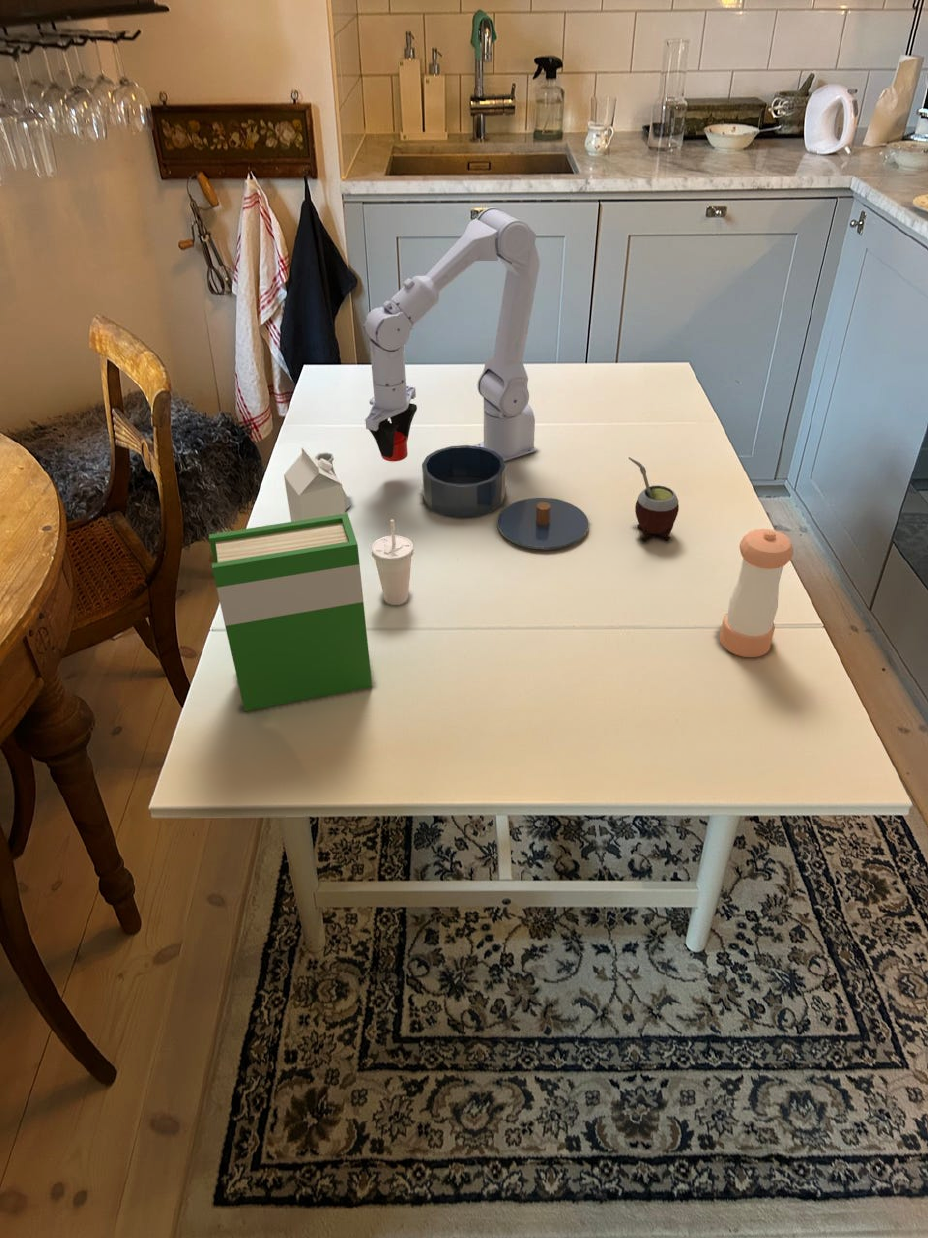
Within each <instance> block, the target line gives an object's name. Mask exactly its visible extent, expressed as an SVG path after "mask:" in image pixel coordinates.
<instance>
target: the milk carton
mask: <svg viewBox="0 0 928 1238" xmlns="http://www.w3.org/2000/svg"><path fill="white" fill-rule="evenodd" d="M331 468H332V464H331V463H329V462H328V461H327V460H325V459H322V458H321V459H320V460H317V459H315V457H312V456H311V455H310V453H309V452H308V451H307V450H306V449H305V448H304V447H303V446H301V454H300V455H299V456H298V458H296V459H295V461H294V462H293V463H292V464H291V465H290V467H289V468H288V469H287V470H286V471H285V472H284V474H283V478H284V484H285V491H286V498H287V504H288V511H289V517H290V522H294V521H300V520H307V519H313V518H320V517H326V516H333V515H339V514H346V510H345V505H344V496H343V489H344V487H343V484H342V482H341V481H340V479H339V478H338V476H337V475H336V476H337V477H336V476H335V475H334V474H333V472H332V471H331V470H330V469H331Z"/></svg>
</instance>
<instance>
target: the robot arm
mask: <svg viewBox="0 0 928 1238" xmlns="http://www.w3.org/2000/svg"><path fill="white" fill-rule="evenodd" d="M536 238H537V233H535V232H534V230H533V229H532V228H531V227H530V226H529V225H528V224H527V223H526V222H525V221H523V220H520V219H517V218H516V217H513V216H511V215H510V214H508V213H506V212H504V211H503V210H501V209H500V208H498V207H495V206H492V207H490V206H489V207H487V208H485V209H483V210H481V212H480V213H478V215H477V217H476V218H474V219H472V220H471V221H470V222H469V223H468V225H467V227H466V229H465V230H464V233H463V235H461V237H460V238H459V239H458V240H457V241H456V242H455V243H454V244H453V245H452V246H451V248H450V249H448V250H447V252H446V253H445V254H444V255H443V256H442V257H441V259H439V261H438V262H437V263H436V264H435V265H434V266H433V267H432V268H431V269H430V271H428V272H427V274H426V275H425V274H424V275H414V276H413V277H412V278H407V279H406V280H405V281H403V285H404V286H403V287H402V288H400V289H399V290H398V292H396V293H395V294H393V296H392V297H391V298H390V299H389V300H385V301H384V302H383V304H382V306H379V307H375V308H373V309H372V310H371V311H370V312H369V313H368V314H367V316H366V318H365V320H364V324H362V330H363V332H364V334H365V335H366V336H367V337H368V339H369V345H370V361H371V362H370V363H371V364H370V365H371V376H372V386H373V387H372V388H373V397H372V398H370V399H369V405H370V406H372V407H371V409H370V410H369V414H368V416H366V418H365V420H364V422H365V429H366V430H368V431H369V432H370V434H371V435H372V436H373V439H374V440H375V442H376V445H377V448H378V450H379V452H380V456H381V457H382V456H385V457H389V458H391V457H392V456H393V452H394V436H395V432H396V431H397V432H401V433H402V434H404V435H405V436H406V438H407V441H408V439H409V435H410V430H411V426H412V422H413V419H414V416H415V414H416V413H417V411H418V405H417V404H415V403H412V402H411V400H414V399H415V398H416V397H417V394H416V393H417V392H416V387H415V386H411V385H407V377H406V376H407V375H406V359H405V346H406V344H407V343H408V340H409V338H410V333H411V331H412V330H413V327H415V325H417V323H419V322H420V321H421V320H422V319H423V318H424V317H425V316H427V314H429V312H430V311H431V310H432V309H434V307H436V305H438V304H439V300H440V299H439V298H440V292H441V291H442V290H443V289H445V288H446V287H447V286H448V285H449V284H451V283H452V282H453V281H455V279H457V278H458V277H459V276H460V275H461V274H463V273H464V272H465V271H466V270H467V269H468V268H470V267H471V266H472V265H473V264H475V263H476V262H498V261H500V262H501V263H502V264H503V265H504V267H505V268H506V273H505V279H504V285H503V291H502V298H501V305H500V311H499V317H498V323H497V329H496V336H495V340H494V341H495V342H494V346H493V348H494V349H493V353H492V356H491V357H489V358H488V359H487V360H486V361H484V367H483V371H482V373H481V374H480V376H479V377H478V379H477V385H476V387H477V391H478V394H480V396H481V397H482V398H483V442H481V443H477V444H475V445H474V446H479V447H484V448H487V449H489V450H492V451H495V452H496V453H497V454H498V455H500V456H501V457H502V458H503V460H504V462H508V461H510V460H513V459H516V458H520V457H522V456H526V455H528V454H529V455H530V454H531V453H535V452H536V451H537V448H536V447H535V431H536V429H535V428H536V419H535V414H534V411H533V408H532V407H531V406H530V404H529V400H530V392H529V388H528V382H529V375H528V372H527V371H526V368H525V365H524V363H523V360H524V355H525V348H526V343H527V337H528V333H529V326H530V322H531V321H530V320H531V317H532V316H531V315H532V310H533V304H534V298H535V292H536V289H537V282H538V278H539V277H538V276H539V270H540V264H541V263H540V262H541V261H540V257H539V253H538V250H537V246H536ZM389 419H390V420H389Z"/></svg>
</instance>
